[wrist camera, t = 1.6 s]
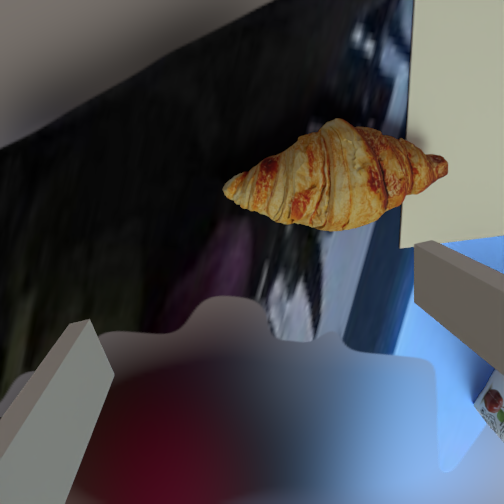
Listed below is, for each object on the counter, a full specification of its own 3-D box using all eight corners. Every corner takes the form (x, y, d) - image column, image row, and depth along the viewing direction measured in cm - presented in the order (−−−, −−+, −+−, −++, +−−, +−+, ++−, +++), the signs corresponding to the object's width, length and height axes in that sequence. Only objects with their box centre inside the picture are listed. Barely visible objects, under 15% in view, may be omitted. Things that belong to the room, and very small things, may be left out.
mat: (593, -32, 28) (595, -33, 28) (536, 230, 36) (538, 231, 36) (414, -15, 27) (416, -15, 27) (399, 247, 36) (400, 248, 35)
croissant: (229, 209, 36) (232, 262, 31) (213, 124, 29) (214, 175, 23) (414, 185, 36) (450, 234, 31) (447, 93, 29) (502, 138, 23)
